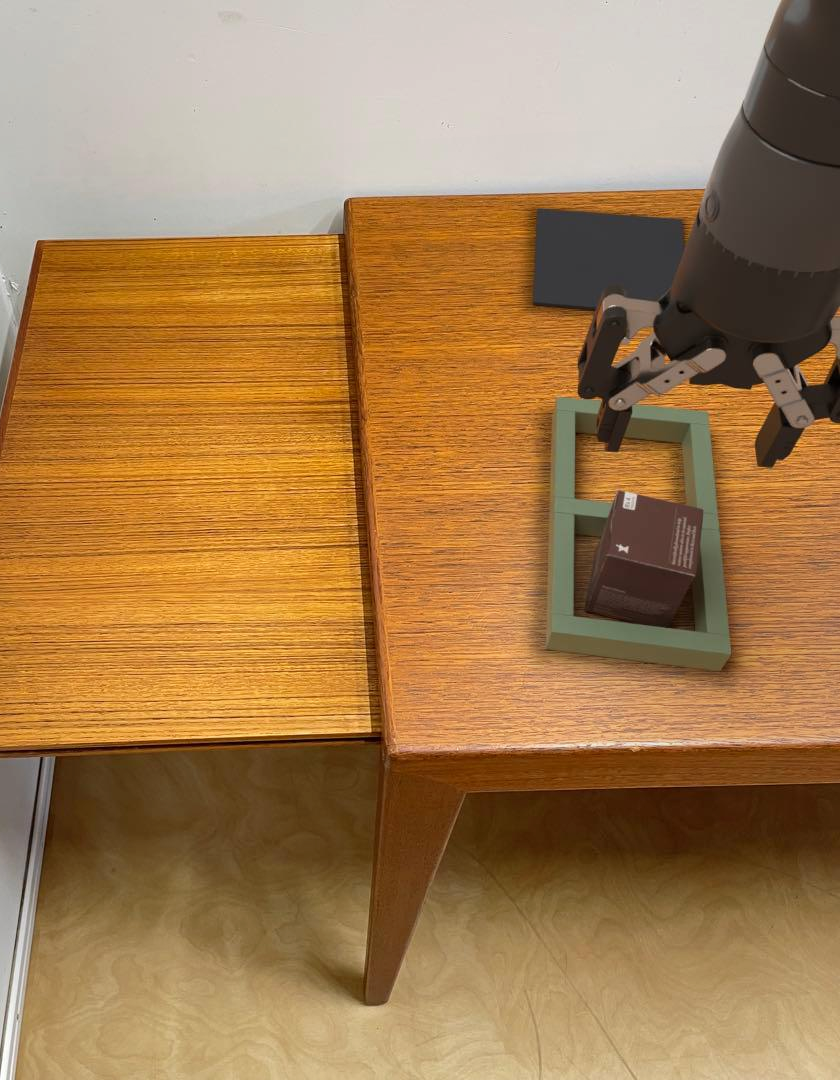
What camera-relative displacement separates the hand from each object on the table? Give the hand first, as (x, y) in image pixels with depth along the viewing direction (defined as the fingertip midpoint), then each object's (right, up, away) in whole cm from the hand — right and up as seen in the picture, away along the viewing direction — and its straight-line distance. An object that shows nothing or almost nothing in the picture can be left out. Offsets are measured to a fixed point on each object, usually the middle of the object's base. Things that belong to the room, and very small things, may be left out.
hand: (685, 448), depth 58 cm
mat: (+7, +21, +37) cm, 43 cm away
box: (+2, -9, +16) cm, 18 cm away
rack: (+3, -5, +19) cm, 19 cm away
